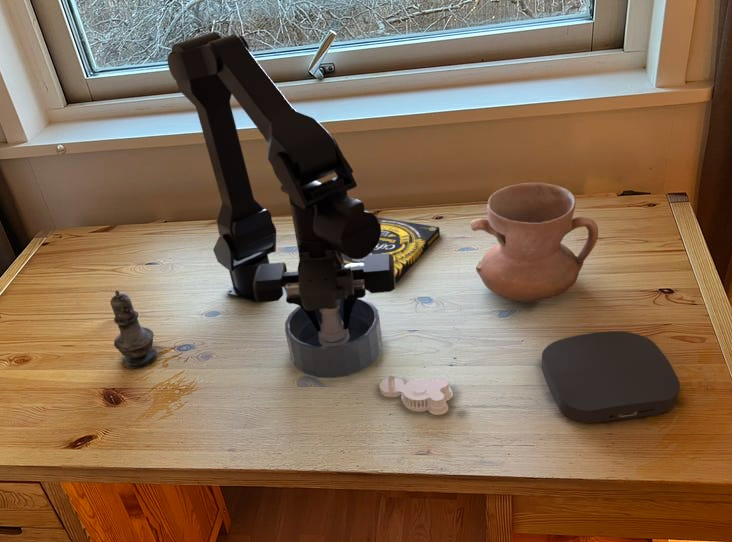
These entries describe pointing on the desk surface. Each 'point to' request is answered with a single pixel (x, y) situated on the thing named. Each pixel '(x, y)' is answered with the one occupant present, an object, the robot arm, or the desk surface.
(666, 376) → the media streaming box
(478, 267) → the ceramic jug
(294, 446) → the desk surface
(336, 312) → the rook chess piece
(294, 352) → the basin
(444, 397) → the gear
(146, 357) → the bishop chess piece
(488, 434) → the desk surface
